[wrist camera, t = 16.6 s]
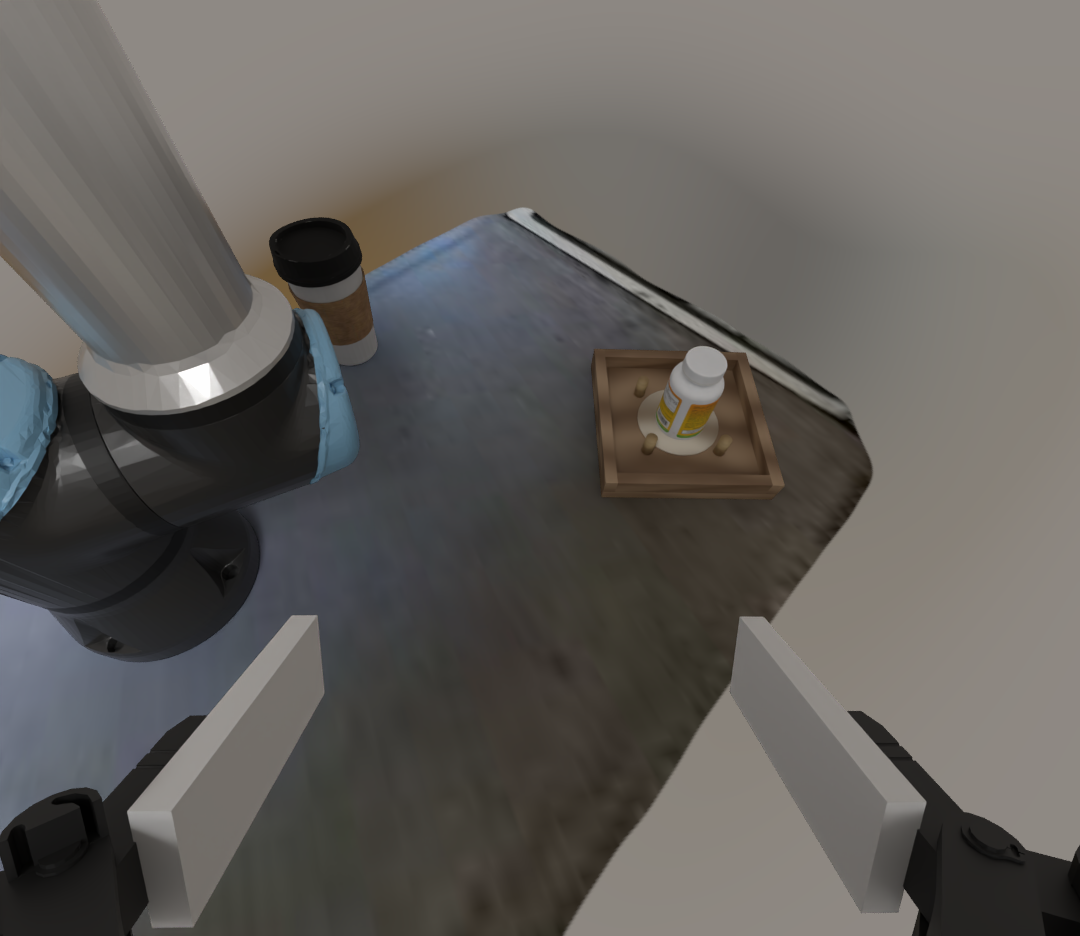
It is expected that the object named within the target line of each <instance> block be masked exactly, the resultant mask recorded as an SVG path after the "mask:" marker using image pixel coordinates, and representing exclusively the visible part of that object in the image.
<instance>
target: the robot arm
mask: <svg viewBox="0 0 1080 936" xmlns="http://www.w3.org/2000/svg"><path fill="white" fill-rule="evenodd" d="M0 256H1V257H2V258H3V259H4V260H5V261H6V262H7V263H8V264H9V265H10V266H11V267H12V268H13V269H14V270H15V272H16V273H17V274H18V275H19V276H20V277H21V278H22V279H23V280H24V281H25V282H26V283H27V284H28V285H29V286H30V287H31V288H32V289H33V290H34V291H35V292H36V293H37V294H38V295H39V296H40V297H41V298H42V299H43V300H44V301H45V302H46V303H47V304H48V305H49V306H50V307H51V308H52V309H53V310H54V312H55V313H56V314H57V315H58V316H59V317H60V318H61V319H62V320H63V321H64V322H65V323H66V324H67V325H68V326H69V327H70V328H71V329H72V330H73V331H74V332H75V333H76V334H77V335H78V336H79V337H80V338H81V339H82V340H83V342H82V345H81V347H80V350H79V355H78V366H77V367H78V372H79V373H76V374H72V375H69V376H65V377H61V378H57V379H52V377H51V376H50V375H48V373H47V372H46V371H45V370H44V369H42V368H41V367H39V366H38V365H35V364H31V363H28V362H26V361H24V360H22V359H19V358H13V357H7V356H5V355H2V354H0V594H2V595H5V596H8V597H11V598H14V599H17V600H20V601H23V602H27V603H30V604H33V605H36V606H39V607H42V608H45V609H48V610H49V611H50V612H51V614H52V615H53V616H54V617H55V618H56V619H57V620H58V621H59V623H60V624H61V625H62V626H63V627H64V628H65V629H66V630H67V632H68V633H69V634H70V635H71V636H72V637H73V638H74V639H75V640H76V641H77V642H78V643H79V644H81V645H82V646H84V647H86V648H87V649H89V650H91V651H93V652H95V653H98V654H101V655H104V656H108V657H111V658H115V659H118V660H122V661H128V662H150V661H156V660H161V659H165V658H169V657H172V656H175V655H178V654H180V653H183V652H185V651H187V650H189V649H191V648H193V647H195V646H197V645H199V644H200V643H202V642H204V641H205V640H207V639H208V638H209V637H211V636H212V635H213V634H215V633H216V632H217V631H218V630H220V629H221V628H222V627H223V626H224V625H225V624H226V623H227V622H228V621H229V620H230V619H231V618H232V617H233V616H234V615H235V613H236V612H237V611H238V610H239V608H240V607H241V605H242V604H243V603H244V601H245V599H246V598H247V596H248V594H249V592H250V590H251V588H252V586H253V584H254V581H255V578H256V575H257V571H258V566H259V545H258V540H257V537H256V534H255V532H254V530H253V528H252V526H251V525H250V524H249V522H248V521H247V520H246V519H245V518H244V517H243V516H242V515H241V514H240V513H239V512H238V511H237V509H240V508H243V507H246V506H248V505H251V504H254V503H257V502H260V501H262V500H265V499H268V498H271V497H274V496H276V495H279V494H282V493H285V492H288V491H291V490H293V489H296V488H299V487H302V486H305V485H307V484H313V483H316V482H317V481H318V480H320V478H321V477H324V476H326V475H328V474H331V473H333V472H335V471H337V470H340V469H342V468H344V467H346V466H348V465H350V464H351V463H352V462H353V461H354V460H355V459H356V457H357V455H358V452H359V447H360V442H359V434H358V429H357V425H356V421H355V417H354V413H353V409H352V405H351V402H350V399H349V395H348V392H347V390H346V387H345V386H344V380H343V377H342V374H341V370H340V366H339V363H338V360H337V357H336V354H335V351H334V348H333V345H332V342H331V340H330V337H329V334H328V332H327V329H326V327H325V325H324V322H323V320H322V318H321V317H320V315H319V314H318V313H317V312H316V311H315V310H313V309H304V310H303V309H299V308H295V309H293V310H292V308H291V306H290V304H289V302H288V300H287V299H286V298H285V297H284V295H283V294H282V293H281V292H280V291H279V290H278V289H277V288H276V287H274V286H273V285H271V284H270V283H268V282H266V281H264V280H262V279H260V278H256V277H254V276H251V275H247V274H244V272H243V270H242V268H241V266H240V265H239V263H238V261H237V259H236V257H235V255H234V254H233V252H232V250H231V248H230V246H229V244H228V243H227V240H226V239H225V237H224V235H223V233H222V231H221V229H220V228H219V226H218V224H217V222H216V220H215V218H214V217H213V215H212V213H211V211H210V209H209V207H208V205H207V203H206V202H205V200H204V198H203V196H202V194H201V192H200V190H199V189H198V187H197V185H196V183H195V181H194V179H193V177H192V176H191V174H190V172H189V170H188V168H187V166H186V164H185V163H184V161H183V159H182V157H181V155H180V154H179V152H178V150H177V148H176V146H175V144H174V142H173V140H172V139H171V137H170V135H169V133H168V131H167V130H166V127H165V126H164V124H163V122H162V120H161V118H160V116H159V114H158V113H157V111H156V109H155V107H154V105H153V103H152V101H151V100H150V98H149V96H148V94H147V93H146V90H145V89H144V87H143V85H142V83H141V81H140V79H139V78H138V75H137V74H136V72H135V70H134V68H133V66H132V64H131V63H130V61H129V59H128V57H127V55H126V54H125V52H124V50H123V48H122V46H121V44H120V42H119V40H118V39H117V37H116V35H115V33H114V31H113V29H112V27H111V26H110V24H109V22H108V20H107V18H106V16H105V14H104V13H103V11H102V9H101V7H100V5H99V3H98V1H97V0H0ZM324 693H325V692H324V681H323V670H322V660H321V649H320V638H319V627H318V616H317V615H292V616H291V617H290V618H289V619H288V621H287V622H286V623H285V624H284V625H283V627H282V628H281V629H280V630H279V631H278V633H277V634H276V635H275V636H274V637H273V638H272V640H271V641H270V642H269V643H268V644H267V646H266V647H265V648H264V649H263V650H262V652H261V653H260V654H259V655H258V656H257V658H256V659H255V660H254V661H253V662H252V663H251V665H250V666H249V667H248V668H247V669H246V671H245V672H244V673H243V674H242V675H241V677H240V678H239V679H238V680H237V681H236V682H235V684H234V685H233V686H232V687H231V688H230V690H229V691H228V692H227V693H226V694H225V696H224V697H223V698H222V699H221V700H220V701H219V703H218V704H217V705H216V706H215V707H214V709H213V710H212V711H211V712H210V713H209V715H208V716H189V717H188V718H186V719H185V720H183V721H182V722H180V723H179V724H177V725H176V726H175V727H173V728H172V729H170V730H169V731H167V732H166V733H165V735H164V736H163V737H162V738H161V739H160V740H159V741H158V742H157V743H156V744H155V746H154V747H153V748H152V749H151V751H150V753H149V754H146V755H145V757H144V758H143V759H142V760H141V761H140V762H139V763H138V764H137V767H136V769H133V770H132V771H131V772H130V773H129V774H128V775H127V776H126V777H125V778H124V780H123V781H122V782H121V783H120V784H119V785H118V786H117V787H116V788H115V789H114V791H113V792H112V793H111V794H110V795H109V796H108V797H107V798H106V799H105V800H104V802H102V798H101V796H100V795H99V793H98V791H97V790H93V789H90V788H87V787H86V788H76V789H69V790H66V791H63V792H60V793H57V794H54V795H51V796H49V797H47V798H45V799H43V800H41V801H39V802H37V803H36V804H34V805H32V806H31V807H29V808H28V809H26V810H25V811H24V812H22V813H21V814H19V815H18V816H17V817H15V818H14V819H13V820H12V822H11V823H10V824H9V825H8V826H7V827H6V828H5V829H4V830H3V831H2V833H1V835H0V857H1V861H2V864H3V867H4V871H1V872H0V936H133V934H132V930H131V928H132V927H133V925H134V924H135V922H136V921H137V919H138V918H139V916H140V915H141V913H142V912H143V910H144V909H145V907H146V906H147V907H148V912H149V916H150V921H151V926H152V928H177V927H194V925H195V923H196V921H197V920H198V918H199V916H200V914H201V912H202V911H203V909H204V907H205V905H206V904H207V902H208V900H209V898H210V896H211V895H212V893H213V891H214V889H215V888H216V886H217V884H218V882H219V880H220V879H221V877H222V875H223V873H224V872H225V870H226V868H227V866H228V864H229V863H230V861H231V859H232V857H233V855H234V854H235V852H236V850H237V848H238V847H239V845H240V843H241V841H242V839H243V838H244V836H245V834H246V832H247V831H248V829H249V827H250V825H251V823H252V822H253V820H254V818H255V816H256V815H257V813H258V811H259V809H260V807H261V806H262V804H263V802H264V800H265V799H266V797H267V795H268V793H269V791H270V790H271V788H272V786H273V784H274V782H275V781H276V779H277V777H278V775H279V774H280V772H281V770H282V768H283V766H284V765H285V763H286V761H287V759H288V758H289V756H290V754H291V752H292V750H293V749H294V747H295V745H296V743H297V742H298V740H299V738H300V736H301V734H302V733H303V731H304V729H305V727H306V725H307V724H308V722H309V720H310V718H311V717H312V715H313V713H314V711H315V709H316V708H317V706H318V704H319V702H320V701H321V699H322V697H323V695H324ZM730 693H731V695H732V696H733V698H734V700H735V702H736V703H737V705H738V706H739V708H740V710H741V711H742V713H743V715H744V717H745V718H746V720H747V722H748V723H749V725H750V727H751V729H752V730H753V732H754V733H755V735H756V737H757V738H758V740H759V742H760V744H761V745H762V747H763V749H764V750H765V752H766V754H767V755H768V757H769V759H770V760H771V762H772V764H773V765H774V767H775V769H776V771H777V772H778V774H779V776H780V777H781V779H782V781H783V782H784V784H785V786H786V787H787V789H788V791H789V792H790V794H791V796H792V797H793V799H794V800H795V802H796V804H797V806H798V808H799V809H800V811H801V812H802V814H803V816H804V818H805V819H806V821H807V823H808V824H809V826H810V827H811V829H812V831H813V833H814V834H815V836H816V838H817V839H818V841H819V843H820V845H821V846H822V848H823V850H824V851H825V853H826V854H827V856H828V858H829V860H830V861H831V863H832V865H833V866H834V868H835V870H836V871H837V873H838V875H839V876H840V878H841V880H842V881H843V883H844V885H845V886H846V888H847V890H848V892H849V893H850V895H851V897H852V898H853V900H854V902H855V903H856V905H857V907H858V908H859V910H860V911H861V913H892V912H898V911H899V907H900V903H901V900H902V896H903V891H904V889H905V890H906V891H907V893H908V894H909V896H910V897H911V899H912V900H913V902H914V903H915V904H916V906H917V907H918V909H919V912H918V915H917V920H916V923H915V927H914V931H913V934H912V936H1080V846H1079V847H1078V849H1077V851H1076V852H1075V855H1074V858H1073V861H1072V862H1070V861H1066V860H1062V859H1058V858H1055V857H1051V856H1047V855H1043V854H1039V853H1035V852H1032V851H1028V850H1026V849H1025V848H1024V847H1023V846H1022V845H1021V844H1020V843H1019V841H1018V840H1017V839H1015V838H1014V837H1013V836H1012V835H1010V834H1009V833H1008V832H1006V831H1005V830H1004V829H1003V828H1001V827H999V826H998V825H996V824H994V823H992V822H990V821H989V820H987V819H985V818H982V817H979V816H976V815H973V814H971V813H966V812H963V811H962V810H961V809H960V808H959V806H957V804H956V803H955V802H954V801H953V800H952V799H951V798H950V797H949V796H948V795H947V794H946V793H945V792H944V791H943V790H942V788H940V786H939V785H938V784H937V783H936V782H935V781H934V780H933V779H932V778H931V777H930V776H929V775H928V774H927V772H926V771H925V770H924V769H923V768H922V767H921V766H920V765H919V764H918V763H917V762H916V761H913V760H912V756H911V755H910V754H908V752H907V751H906V750H905V749H904V748H903V747H902V746H899V743H898V742H897V741H896V739H895V738H893V736H892V735H891V734H890V733H889V732H888V731H887V730H886V729H885V728H884V727H883V726H882V725H881V724H879V723H878V722H876V721H875V720H873V719H872V718H870V717H869V716H867V715H866V714H864V713H863V712H862V711H846V710H845V709H844V708H843V706H842V705H841V704H840V703H839V702H838V701H837V700H836V698H835V697H834V696H833V695H832V694H831V693H830V692H829V690H828V689H827V688H826V687H825V686H824V685H823V684H822V683H821V682H820V680H819V679H818V678H817V677H816V676H815V675H814V673H813V672H812V671H811V670H810V669H809V668H808V667H807V666H806V664H805V663H804V662H803V661H802V660H801V659H800V658H799V656H798V655H797V654H796V653H795V652H794V651H793V650H792V649H791V647H790V646H789V645H788V644H787V643H786V642H785V641H784V639H783V638H782V637H781V636H780V635H779V634H778V633H777V632H776V630H775V629H774V628H773V627H772V626H771V625H770V624H769V622H768V621H767V620H766V619H765V618H764V617H740V619H739V627H738V634H737V642H736V649H735V657H734V664H733V672H732V679H731V687H730Z"/></svg>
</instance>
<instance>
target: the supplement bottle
mask: <svg viewBox="0 0 1080 936" xmlns="http://www.w3.org/2000/svg"><path fill="white" fill-rule="evenodd" d="M726 369H727V360H726V358H725V357H724V355H723V354H722V353H720V352H719V351H718V350H716V349H714V348H711V347H707V346H698V347H695V348H692V349H691V350H689V351H688V353H687V354H686V356H685V359H684V361H682V362H680V363H679V364H678V365H676V366H675V368H674V369H673V370H672V373H671V375H670V377H669V380H668V383H667V385H666V388H665V390H664V393H663V396H662V398H661V401H660V403H659V406H658V408H657V411H656V423H657V425H658V427H659V429H660V430H661V431H662V432H663V433H664V434H665V435H667V436H669V437H671V438H674V439H678V440H689V439H692V438H695V437H696V436H698V435H699V434H700V433H701V431H702V430H703V428H704V426H705V424H706V423H707V421H708V419H709V417H710V415H711V413H712V412H713V410H714V408H715V406H716V404H717V402H718V401H719V399H720V397H721V395H722V393H723V390H724V378H723V376H724V374H725V372H726Z"/></svg>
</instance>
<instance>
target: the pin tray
mask: <svg viewBox="0 0 1080 936" xmlns="http://www.w3.org/2000/svg"><path fill="white" fill-rule="evenodd" d="M687 353H688V351H658V350H617V349H594V354H593V359H592V365H591V371H592V384H593V396H594V409H595V422H596V435H597V447H598V460H599V473H600V485H601V497H619V498H694V499H770V500H772V499H773V498H774V497H775V495H776V494H777V493H778V492H779V491H780V490H781V489H782V488H783V487H784V486H785V485H784V482H783V478H782V475H781V471H780V468H779V465H778V461H777V458H776V454H775V451H774V447H773V444H772V441H771V437H770V434H769V430H768V427H767V424H766V420H765V417H764V413H763V410H762V407H761V403H760V400H759V396H758V393H757V390H756V386H755V383H754V379H753V376H752V373H751V369H750V366H749V362H748V359H747V356H746V353H738V352H720V353H722V354H723V355H724V357H725V358H726V360H727V369H726V372H725V374H724V376H723V378H724V390H723V393H722V395H721V397H720V399H719V401H718V402H717V404H716V406H715V408H714V410H713V412H712V413H711V415H710V417H709V419H708V421H707V423H706V424H705V426H704V428H703V430H702V431H701V433H700V434H699V435H698V436H696V437H695V438H692V439H689V440H678V439H674V438H671V437H669V436H667V435H665V434H664V433H663V432H662V431H661V430H660V429H659V427H658V425H657V423H656V411H657V408H658V406H659V403H660V401H661V398H662V396H663V393H664V390H665V388H666V385H667V383H668V380H669V377H670V375H671V373H672V370H673V369H674V368H675V366H676V365H678V364H679V363H680V362H682V361H684V359H685V356H686V354H687Z"/></svg>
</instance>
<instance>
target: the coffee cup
mask: <svg viewBox="0 0 1080 936" xmlns="http://www.w3.org/2000/svg"><path fill="white" fill-rule="evenodd" d="M269 246H270V250H271V253H272V257H273V263H274V266H275V268H276V270H277V272H278V274H279V276H280V277H281V278H282V279H283V280H285V281H286V282H288V285H289V289H290V291H291V293H292V295H293V296H294V298H295V300H296V302H297V303H298V305H299V306H300V308H301V309H303V310H304V309H313V310H315V311H316V312H317V313H318V314H319V315H320V317H321V318H322V320H323V322H324V325H325V327H326V329H327V332H328V334H329V337H330V340H331V342H332V345H333V348H334V351H335V354H336V357H337V360H338V363H339V364H341V365H346V366H352V365H358V364H361V363H364V362H366V361H368V360H369V359H370V358H372V356H373V355H374V354H375V352H376V350H377V345H378V344H377V338H376V334H375V329H374V325H373V318H372V313H371V307H370V302H369V297H368V291H367V286H366V281H365V275H364V271H363V269H362V267H361V266H360V264H361V261H362V253H361V250H360V247H359V244H358V242H357V240H356V239H355V238H354V236H353V234H352V232H351V230H350V228H349V227H348V226H347V225H346V224H345V223H343V222H341V221H338V220H335V219H331V218H322V217H321V218H320V217H319V218H309V219H304V220H300V221H296V222H293V223H290V224H288V225H286V226H284V227H282V228H280V229H278V230H277V231H276V232H274V233H273V234H272V236H271V237H270V240H269Z"/></svg>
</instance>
